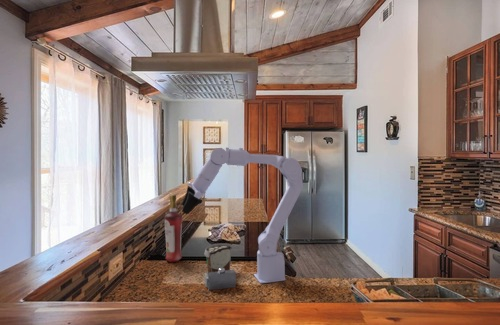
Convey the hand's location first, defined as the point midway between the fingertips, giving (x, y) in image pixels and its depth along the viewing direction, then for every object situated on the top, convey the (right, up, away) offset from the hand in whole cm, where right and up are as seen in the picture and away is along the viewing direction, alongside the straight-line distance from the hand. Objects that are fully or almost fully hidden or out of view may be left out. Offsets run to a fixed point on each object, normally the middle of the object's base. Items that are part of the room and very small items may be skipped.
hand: (184, 209), depth 104 cm
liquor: (-9, -25, +20) cm, 34 cm away
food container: (+10, -25, +6) cm, 28 cm away
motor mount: (+13, -25, -4) cm, 29 cm away
